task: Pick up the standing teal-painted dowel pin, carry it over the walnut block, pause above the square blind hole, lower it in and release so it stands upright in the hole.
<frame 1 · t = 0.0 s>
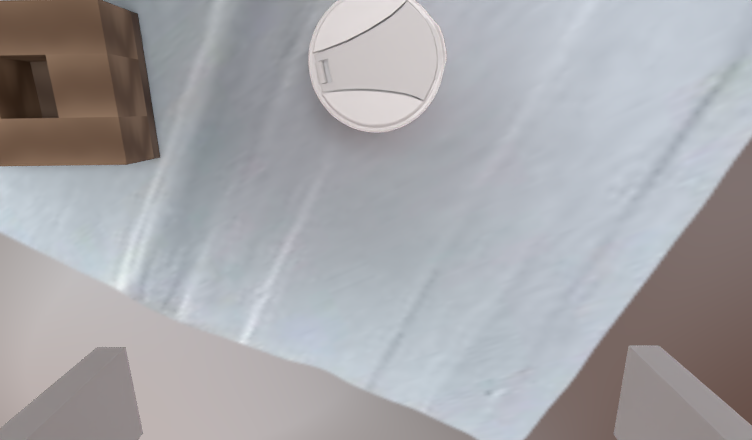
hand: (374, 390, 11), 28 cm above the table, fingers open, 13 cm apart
paper cup: (379, 78, 35), on the table
bore block: (71, 90, 36), on the table
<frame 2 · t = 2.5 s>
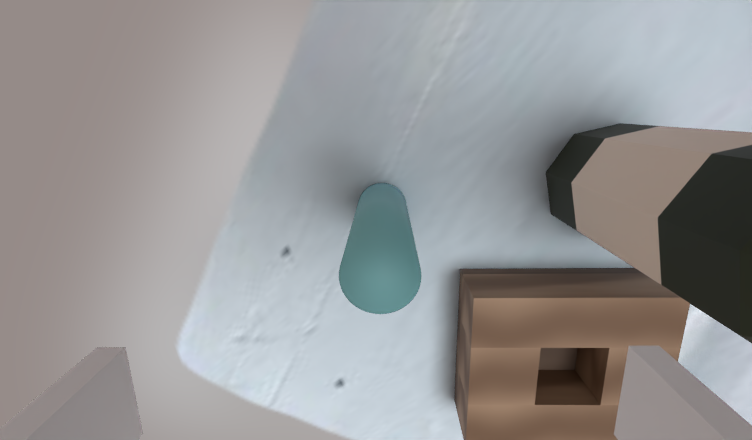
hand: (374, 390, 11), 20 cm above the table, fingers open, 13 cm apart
wine bottle: (600, 181, 30), on the table
bore block: (544, 337, 33), on the table
pin: (382, 206, 30), on the table
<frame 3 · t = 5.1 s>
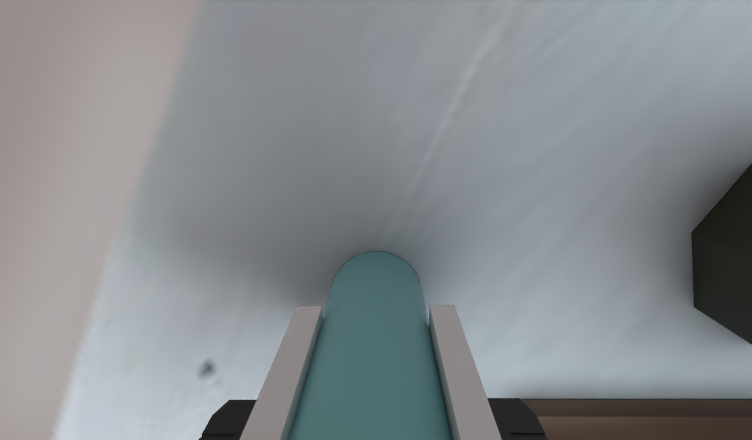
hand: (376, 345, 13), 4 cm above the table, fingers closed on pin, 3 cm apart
pin: (376, 293, 16), on the table, touching gripper
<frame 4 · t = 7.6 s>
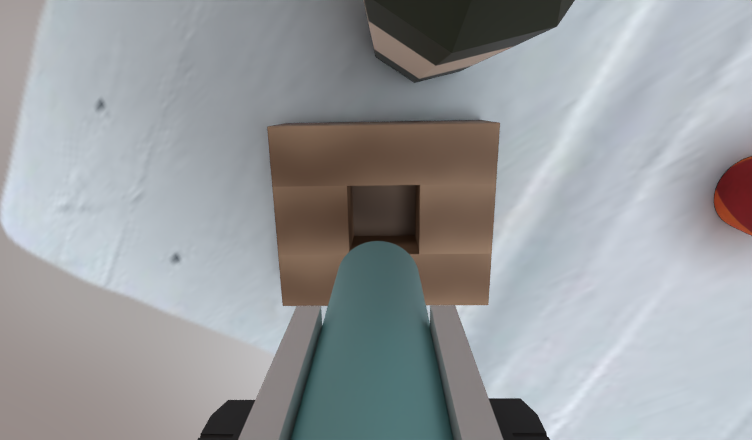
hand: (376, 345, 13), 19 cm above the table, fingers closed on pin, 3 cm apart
wine bottle: (425, 18, 28), on the table
paper cup: (751, 191, 30), on the table
bore block: (384, 202, 31), on the table
pin: (378, 280, 18), point 14 cm above the table, touching gripper
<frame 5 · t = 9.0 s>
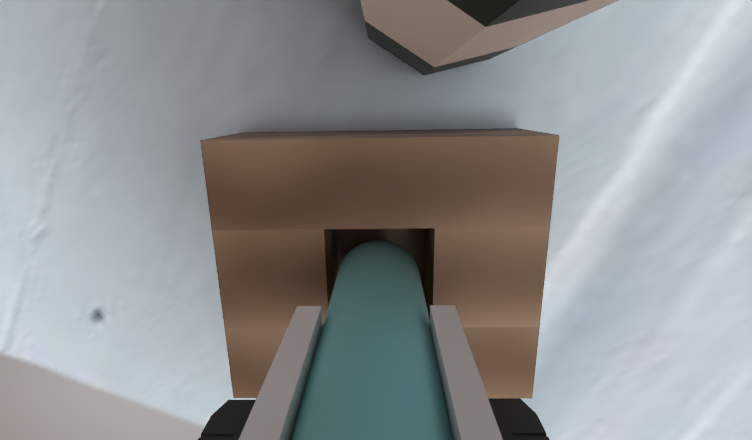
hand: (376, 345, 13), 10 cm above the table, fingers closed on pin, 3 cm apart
bore block: (380, 242, 22), on the table
pin: (378, 279, 18), point 5 cm above the table, touching gripper
when the fingers open (7 cm above the table, at t = 10.1 s): pin stays where it is, resting on bore block.
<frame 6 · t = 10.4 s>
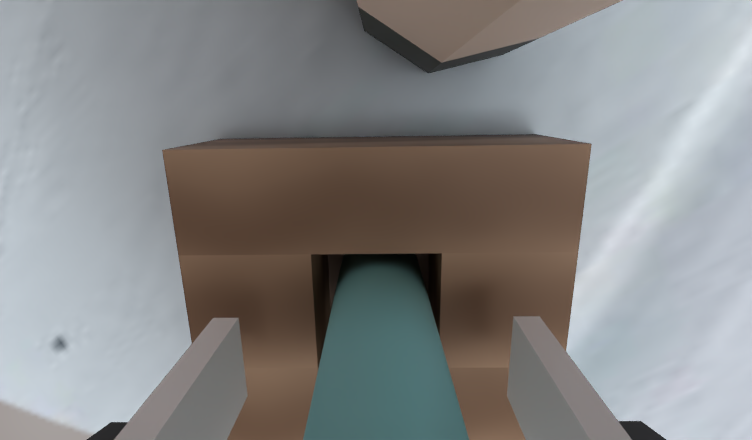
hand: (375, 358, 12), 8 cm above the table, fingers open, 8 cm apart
bore block: (378, 262, 20), on the table
pin: (379, 270, 19), point 1 cm above the table, touching bore block
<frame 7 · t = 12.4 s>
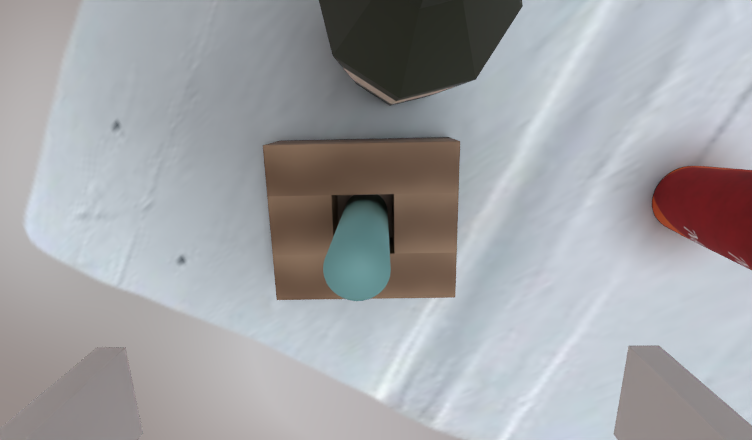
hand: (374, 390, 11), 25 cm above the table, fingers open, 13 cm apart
wine bottle: (399, 51, 32), on the table
paper cup: (684, 197, 35), on the table
bore block: (365, 209, 35), on the table
pin: (366, 212, 34), point 1 cm above the table, touching bore block
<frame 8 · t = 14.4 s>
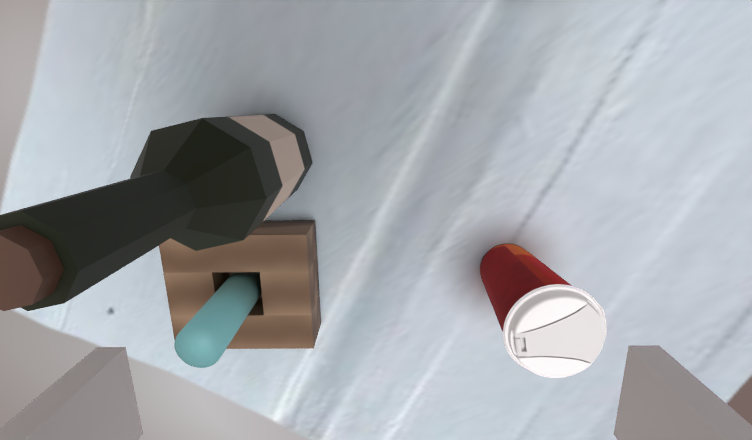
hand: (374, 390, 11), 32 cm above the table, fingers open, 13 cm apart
wine bottle: (271, 156, 41), on the table
paper cup: (505, 267, 44), on the table
bore block: (254, 274, 44), on the table
pin: (251, 277, 43), point 1 cm above the table, touching bore block
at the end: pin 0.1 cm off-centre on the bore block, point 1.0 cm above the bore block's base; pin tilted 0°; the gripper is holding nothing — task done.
